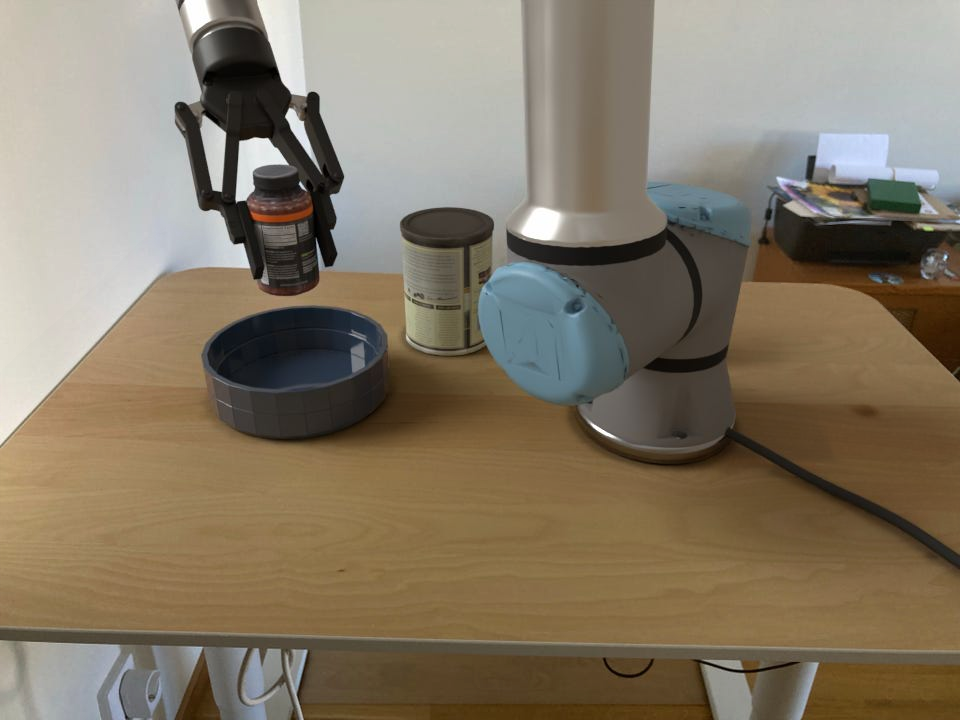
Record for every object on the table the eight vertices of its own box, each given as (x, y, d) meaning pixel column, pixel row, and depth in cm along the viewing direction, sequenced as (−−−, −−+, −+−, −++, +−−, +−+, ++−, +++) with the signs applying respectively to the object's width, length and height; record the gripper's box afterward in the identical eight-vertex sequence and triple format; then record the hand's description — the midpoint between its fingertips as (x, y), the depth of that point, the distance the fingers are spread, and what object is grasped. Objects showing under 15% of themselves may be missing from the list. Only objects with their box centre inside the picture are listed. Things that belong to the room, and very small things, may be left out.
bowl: (426, 383, 82) (424, 337, 79) (292, 466, 69) (285, 414, 67) (309, 333, 92) (304, 291, 89) (173, 398, 79) (163, 351, 76)
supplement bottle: (269, 271, 78) (255, 159, 72) (327, 275, 77) (317, 161, 71) (247, 297, 72) (230, 177, 67) (310, 300, 72) (298, 180, 66)
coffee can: (412, 314, 96) (408, 204, 90) (494, 318, 96) (497, 208, 89) (397, 354, 88) (391, 236, 81) (488, 359, 87) (490, 240, 80)
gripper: (320, 68, 82) (384, 266, 77) (128, 80, 74) (187, 301, 70) (332, 18, 75) (403, 232, 71) (122, 27, 67) (187, 267, 63)
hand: (295, 266), depth 70 cm, fingers closed on supplement bottle, 6 cm apart
